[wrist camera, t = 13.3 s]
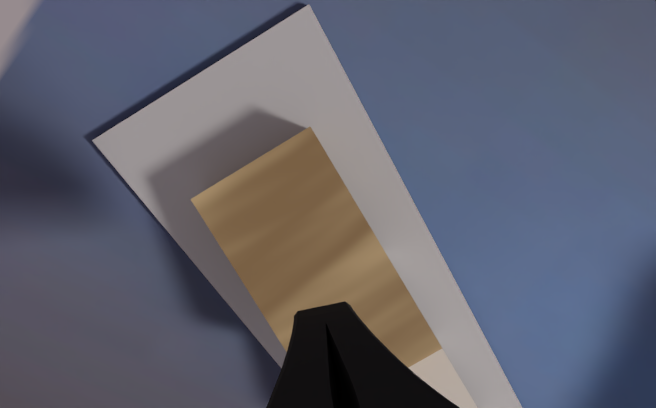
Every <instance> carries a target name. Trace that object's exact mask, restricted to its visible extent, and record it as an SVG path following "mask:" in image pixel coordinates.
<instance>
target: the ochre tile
mask: <svg viewBox="0 0 656 408" xmlns="http://www.w3.org/2000/svg"><path fill="white" fill-rule="evenodd" d="M191 201H192V202H193V204H194V206H195V207H196V209H197V210H198V212H199V214H200V215H201V217H202V218H203V220H204V222H205V223H206V225H207V226H208V228H209V230H210V231H211V233H212V234H213V236H214V237H215V239H216V241H217V242H218V244H219V245H220V247H221V249H222V250H223V252H224V253H225V255H226V257H227V258H228V260H229V261H230V263H231V265H232V266H233V268H234V269H235V271H236V273H237V274H238V276H239V277H240V279H241V280H242V282H243V284H244V285H245V287H246V288H247V290H248V292H249V293H250V295H251V296H252V298H253V300H254V301H255V303H256V304H257V306H258V308H259V309H260V311H261V312H262V314H263V316H264V317H265V319H266V320H267V322H268V323H269V325H270V327H271V328H272V330H273V331H274V333H275V335H276V336H277V338H278V339H279V341H280V343H281V344H282V346H283V347H284V349H285V351H286V352H287V350H288V346H289V342H290V338H291V334H292V329H293V322H294V315H295V314H296V312H297V311H300V310H305V309H310V308H315V307H320V306H325V305H329V304H334V303H339V302H344V301H345V302H347V303H348V304H350V305H351V307H352V309H353V310H354V311H355V313H356V314H357V315H358V317H359V318H360V319H361V320H362V321H363V323H364V324H365V325H366V326H367V327H368V328H369V330H370V331H371V332H372V333H373V334H374V335H375V336H376V337H377V338H378V339H379V340H380V341H381V342H382V343H383V344H384V345H385V346H386V347H387V348H388V349H389V350H390V351H391V352H392V353H393V354H394V355H395V356H396V357H397V358H398V359H399V360H400V361H401V362H402V363H403V364H404V365H406V366H407V367H410V366H412V365H414V364H416V363H417V362H419V361H421V360H423V359H424V358H426V357H428V356H430V355H432V354H433V353H435V352H437V351H439V350H440V349H442V347H441V345H440V343H439V342H438V340H437V338H436V337H435V335H434V333H433V332H432V330H431V328H430V327H429V325H428V323H427V321H426V320H425V318H424V316H423V315H422V313H421V311H420V310H419V308H418V306H417V305H416V303H415V301H414V300H413V298H412V296H411V295H410V293H409V291H408V290H407V288H406V286H405V285H404V283H403V281H402V279H401V278H400V276H399V274H398V273H397V271H396V269H395V268H394V266H393V264H392V263H391V261H390V259H389V258H388V256H387V254H386V253H385V251H384V249H383V248H382V246H381V244H380V243H379V241H378V239H377V237H376V236H375V234H374V232H373V231H372V229H371V227H370V226H369V224H368V222H367V221H366V219H365V217H364V216H363V214H362V212H361V211H360V209H359V207H358V206H357V204H356V202H355V201H354V199H353V197H352V195H351V194H350V192H349V190H348V189H347V187H346V185H345V184H344V182H343V180H342V179H341V177H340V175H339V174H338V172H337V170H336V169H335V167H334V165H333V164H332V162H331V160H330V158H329V157H328V155H327V153H326V152H325V150H324V148H323V147H322V145H321V143H320V142H319V140H318V138H317V137H316V135H315V133H314V132H313V130H312V128H311V127H308V128H307V129H305V130H303V131H302V132H300V133H298V134H297V135H295V136H293V137H292V138H290V139H288V140H287V141H285V142H284V143H282V144H280V145H279V146H277V147H275V148H274V149H272V150H270V151H269V152H267V153H266V154H264V155H262V156H261V157H259V158H257V159H256V160H254V161H252V162H251V163H249V164H247V165H246V166H244V167H243V168H241V169H239V170H238V171H236V172H234V173H233V174H231V175H229V176H228V177H226V178H224V179H223V180H221V181H220V182H218V183H216V184H215V185H213V186H211V187H210V188H208V189H206V190H205V191H203V192H201V193H200V194H198V195H197V196H195V197H193V198H192V199H191Z"/></svg>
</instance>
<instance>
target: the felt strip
mask: <svg viewBox="0 0 656 408" xmlns="http://www.w3.org/2000/svg"><path fill="white" fill-rule="evenodd" d="M308 127H311V128H312V130H313V132H314V133H315V135H316V137H317V138H318V140H319V142H320V143H321V145H322V147H323V148H324V150H325V152H326V153H327V155H328V157H329V158H330V160H331V162H332V164H333V165H334V167H335V169H336V170H337V172H338V174H339V175H340V177H341V179H342V180H343V182H344V184H345V185H346V187H347V189H348V190H349V192H350V194H351V195H352V197H353V199H354V201H355V202H356V204H357V206H358V207H359V209H360V211H361V212H362V214H363V216H364V217H365V219H366V221H367V222H368V224H369V226H370V227H371V229H372V231H373V232H374V234H375V236H376V237H377V239H378V241H379V243H380V244H381V246H382V248H383V249H384V251H385V253H386V254H387V256H388V258H389V259H390V261H391V263H392V264H393V266H394V268H395V269H396V271H397V273H398V274H399V276H400V278H401V279H402V281H403V283H404V285H405V286H406V288H407V290H408V291H409V293H410V295H411V296H412V298H413V300H414V301H415V303H416V305H417V306H418V308H419V310H420V311H421V313H422V315H423V316H424V318H425V320H426V321H427V323H428V325H429V327H430V328H431V330H432V332H433V333H434V335H435V337H436V338H437V340H438V342H439V343H440V345H441V347H442V349H443V350H444V352H445V354H446V355H447V357H448V359H449V360H450V362H451V364H452V366H453V367H454V369H455V371H456V372H457V374H458V376H459V377H460V379H461V381H462V382H463V384H464V386H465V387H466V389H467V391H468V392H469V394H470V396H471V397H472V399H473V401H474V403H475V404H476V406H477V408H522V406H521V404H520V402H519V401H518V399H517V397H516V395H515V393H514V391H513V389H512V387H511V385H510V384H509V382H508V380H507V378H506V376H505V374H504V372H503V370H502V368H501V366H500V365H499V363H498V361H497V359H496V357H495V355H494V353H493V351H492V349H491V348H490V346H489V344H488V342H487V340H486V338H485V336H484V334H483V332H482V331H481V329H480V327H479V325H478V323H477V321H476V319H475V317H474V315H473V313H472V312H471V310H470V308H469V306H468V304H467V302H466V300H465V298H464V296H463V295H462V293H461V291H460V289H459V287H458V285H457V283H456V281H455V279H454V278H453V276H452V274H451V272H450V270H449V268H448V266H447V264H446V262H445V261H444V259H443V257H442V255H441V253H440V251H439V249H438V247H437V245H436V243H435V242H434V240H433V238H432V236H431V234H430V232H429V230H428V228H427V226H426V225H425V223H424V221H423V219H422V217H421V215H420V213H419V211H418V209H417V208H416V206H415V204H414V202H413V200H412V198H411V196H410V194H409V192H408V190H407V189H406V187H405V185H404V183H403V181H402V179H401V177H400V175H399V173H398V172H397V170H396V168H395V166H394V164H393V162H392V160H391V158H390V156H389V155H388V153H387V151H386V149H385V147H384V145H383V143H382V141H381V139H380V137H379V136H378V134H377V132H376V130H375V128H374V126H373V124H372V122H371V120H370V119H369V117H368V115H367V113H366V111H365V109H364V107H363V105H362V103H361V102H360V100H359V98H358V96H357V94H356V92H355V90H354V88H353V86H352V84H351V83H350V81H349V79H348V77H347V75H346V73H345V71H344V69H343V67H342V66H341V64H340V62H339V60H338V58H337V56H336V54H335V52H334V50H333V49H332V47H331V45H330V43H329V41H328V39H327V37H326V35H325V33H324V32H323V30H322V28H321V26H320V24H319V22H318V20H317V18H316V16H315V14H314V13H313V11H312V9H311V7H310V5H307V6H305V7H304V8H302V9H301V10H299V11H297V12H296V13H294V14H293V15H291V16H289V17H288V18H286V19H285V20H283V21H282V22H280V23H278V24H277V25H275V26H274V27H272V28H270V29H269V30H267V31H266V32H264V33H262V34H261V35H259V36H258V37H256V38H254V39H253V40H251V41H250V42H248V43H246V44H245V45H243V46H242V47H240V48H238V49H237V50H235V51H234V52H232V53H231V54H229V55H227V56H226V57H224V58H223V59H221V60H219V61H218V62H216V63H215V64H213V65H211V66H210V67H208V68H207V69H205V70H203V71H202V72H200V73H199V74H197V75H195V76H194V77H192V78H191V79H189V80H188V81H186V82H184V83H183V84H181V85H180V86H178V87H176V88H175V89H173V90H172V91H170V92H168V93H167V94H165V95H164V96H162V97H160V98H159V99H157V100H156V101H154V102H152V103H151V104H149V105H148V106H146V107H144V108H143V109H141V110H140V111H138V112H137V113H135V114H133V115H132V116H130V117H129V118H127V119H125V120H124V121H122V122H121V123H119V124H117V125H116V126H114V127H113V128H111V129H109V130H108V131H106V132H105V133H103V134H101V135H100V136H98V137H97V138H95V139H94V140H92V141H93V142H94V144H95V145H96V146H97V147H98V148H99V150H100V151H101V152H102V153H103V154H104V156H105V157H106V158H107V159H108V160H109V162H110V163H111V164H112V165H113V166H114V168H115V169H116V170H117V171H118V172H119V174H120V175H121V176H122V177H123V178H124V180H125V181H126V182H127V183H128V184H129V186H130V187H131V188H132V189H133V190H134V192H135V193H136V194H137V195H138V197H139V198H140V199H141V200H142V201H143V203H144V204H145V205H146V206H147V207H148V209H149V210H150V211H151V212H152V213H153V215H154V216H155V217H156V218H157V219H158V221H159V222H160V223H161V224H162V225H163V227H164V228H165V229H166V230H167V231H168V233H169V234H170V235H171V236H172V237H173V239H174V240H175V241H176V242H177V243H178V245H179V246H180V247H181V248H182V249H183V251H184V252H185V253H186V254H187V255H188V257H189V258H190V259H191V260H192V261H193V263H194V264H195V265H196V266H197V268H198V269H199V270H200V271H201V272H202V274H203V275H204V276H205V277H206V278H207V280H208V281H209V282H210V283H211V284H212V286H213V287H214V288H215V289H216V290H217V292H218V293H219V294H220V295H221V296H222V298H223V299H224V300H225V301H226V302H227V304H228V305H229V306H230V307H231V308H232V310H233V311H234V312H235V313H236V314H237V316H238V317H239V318H240V319H241V320H242V322H243V323H244V324H245V325H246V326H247V328H248V329H249V330H250V331H251V333H252V334H253V335H254V336H255V337H256V339H257V340H258V341H259V342H260V343H261V345H262V346H263V347H264V348H265V349H266V351H267V352H268V353H269V354H270V355H271V357H272V358H273V359H274V360H275V361H276V363H277V364H278V365H279V366H280V367H281V369H282V366H283V362H284V359H285V356H286V353H287V352H286V351H285V349H284V347H283V346H282V344H281V343H280V341H279V339H278V338H277V336H276V335H275V333H274V331H273V330H272V328H271V327H270V325H269V323H268V322H267V320H266V319H265V317H264V316H263V314H262V312H261V311H260V309H259V308H258V306H257V304H256V303H255V301H254V300H253V298H252V296H251V295H250V293H249V292H248V290H247V288H246V287H245V285H244V284H243V282H242V280H241V279H240V277H239V276H238V274H237V273H236V271H235V269H234V268H233V266H232V265H231V263H230V261H229V260H228V258H227V257H226V255H225V253H224V252H223V250H222V249H221V247H220V245H219V244H218V242H217V241H216V239H215V237H214V236H213V234H212V233H211V231H210V230H209V228H208V226H207V225H206V223H205V222H204V220H203V218H202V217H201V215H200V214H199V212H198V210H197V209H196V207H195V206H194V204H193V202H192V201H191V199H192V198H193V197H195V196H197V195H198V194H200V193H201V192H203V191H205V190H206V189H208V188H210V187H211V186H213V185H215V184H216V183H218V182H220V181H221V180H223V179H224V178H226V177H228V176H229V175H231V174H233V173H234V172H236V171H238V170H239V169H241V168H243V167H244V166H246V165H247V164H249V163H251V162H252V161H254V160H256V159H257V158H259V157H261V156H262V155H264V154H266V153H267V152H269V151H270V150H272V149H274V148H275V147H277V146H279V145H280V144H282V143H284V142H285V141H287V140H288V139H290V138H292V137H293V136H295V135H297V134H298V133H300V132H302V131H303V130H305V129H307V128H308Z"/></svg>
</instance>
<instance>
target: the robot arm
mask: <svg viewBox="0 0 656 408" xmlns="http://www.w3.org/2000/svg"><path fill="white" fill-rule="evenodd" d="M266 408H460V407H458V406H457V405H455V404H454V403H452V402H451V401H449V400H448V399H447V398H445V397H444V396H443V395H441V394H440V393H439V392H437V391H436V390H435V389H433V388H432V387H431V386H429V385H428V384H427V383H426V382H424V381H423V380H422V379H421V378H419V377H418V376H417V375H416V374H415V373H414V372H412V371H411V370H410V369H409V368H408V367H407V366H406V365H404V364H403V363H402V362H401V361H400V360H399V359H398V358H397V357H396V356H395V355H394V354H393V353H392V352H391V351H390V350H389V349H388V348H387V347H386V346H385V345H384V344H383V343H382V342H381V341H380V340H379V339H378V338H377V337H376V336H375V335H374V334H373V333H372V332H371V331H370V330H369V328H368V327H367V326H366V325H365V324H364V323H363V321H362V320H361V319H360V318H359V317H358V315H357V314H356V313H355V311H354V310H353V309H352V307H351V305H350V304H348V303H347V302H345V301H344V302H339V303H334V304H329V305H325V306H320V307H315V308H310V309H305V310H300V311H297V312H296V314H295V315H294V322H293V329H292V334H291V338H290V342H289V346H288V350H287V353H286V356H285V359H284V362H283V366H282V369H281V372H280V375H279V377H278V380H277V382H276V385H275V387H274V390H273V393H272V395H271V398H270V400H269V403H268V405H267V407H266Z"/></svg>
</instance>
